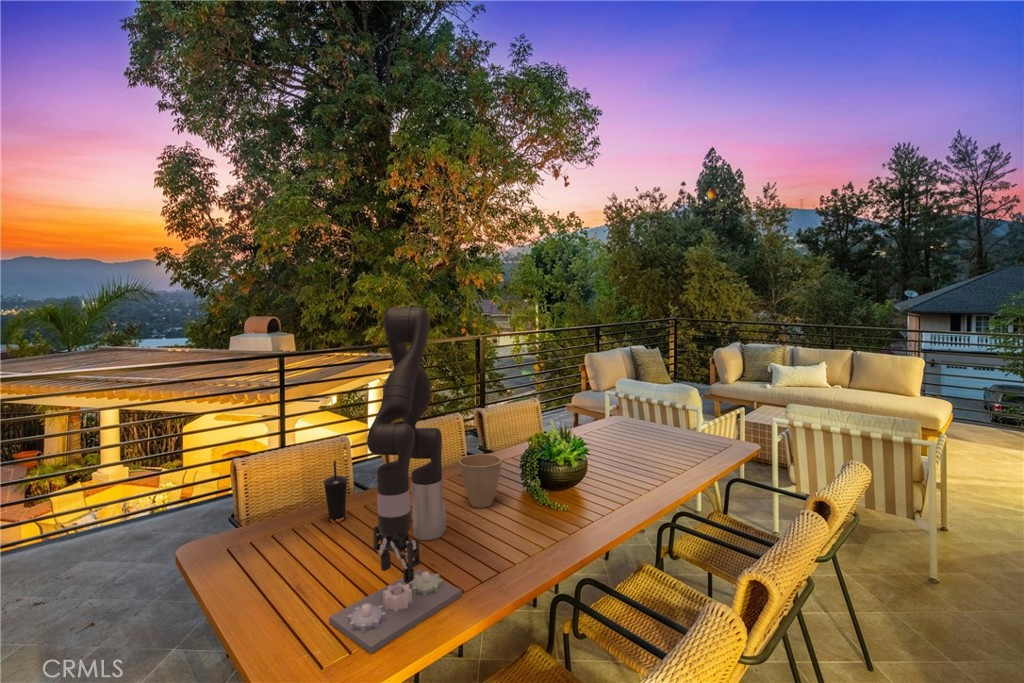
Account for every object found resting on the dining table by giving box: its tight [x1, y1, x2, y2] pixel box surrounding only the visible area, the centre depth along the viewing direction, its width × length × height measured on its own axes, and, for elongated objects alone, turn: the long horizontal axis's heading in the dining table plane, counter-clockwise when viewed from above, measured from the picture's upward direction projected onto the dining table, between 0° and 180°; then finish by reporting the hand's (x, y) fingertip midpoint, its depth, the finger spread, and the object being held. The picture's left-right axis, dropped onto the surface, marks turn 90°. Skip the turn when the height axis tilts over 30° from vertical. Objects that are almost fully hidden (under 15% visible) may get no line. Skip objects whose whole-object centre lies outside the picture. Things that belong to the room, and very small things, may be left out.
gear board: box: [328, 568, 463, 655], centre depth 119 cm, size 26×16×5 cm, turn 140°
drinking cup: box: [322, 460, 349, 520], centre depth 168 cm, size 8×8×20 cm
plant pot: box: [458, 453, 503, 509], centre depth 179 cm, size 15×15×16 cm
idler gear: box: [383, 583, 412, 612], centre depth 119 cm, size 6×6×3 cm
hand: (397, 575), depth 119 cm, fingers open, 8 cm apart
